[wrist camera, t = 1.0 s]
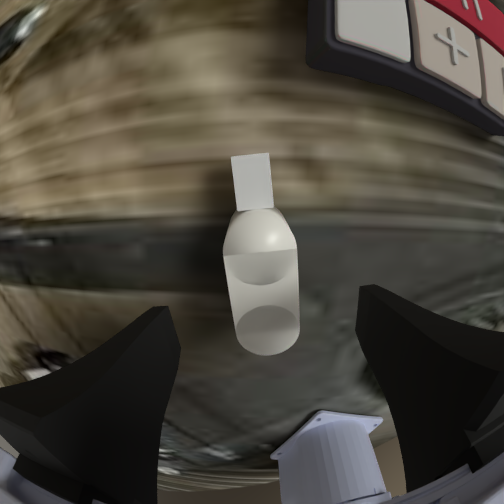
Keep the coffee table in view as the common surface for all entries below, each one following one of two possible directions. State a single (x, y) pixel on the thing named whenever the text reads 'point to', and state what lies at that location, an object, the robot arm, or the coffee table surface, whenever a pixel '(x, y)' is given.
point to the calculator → (417, 51)
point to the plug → (261, 262)
